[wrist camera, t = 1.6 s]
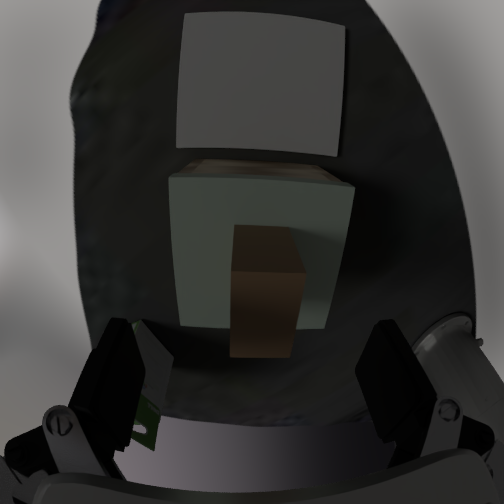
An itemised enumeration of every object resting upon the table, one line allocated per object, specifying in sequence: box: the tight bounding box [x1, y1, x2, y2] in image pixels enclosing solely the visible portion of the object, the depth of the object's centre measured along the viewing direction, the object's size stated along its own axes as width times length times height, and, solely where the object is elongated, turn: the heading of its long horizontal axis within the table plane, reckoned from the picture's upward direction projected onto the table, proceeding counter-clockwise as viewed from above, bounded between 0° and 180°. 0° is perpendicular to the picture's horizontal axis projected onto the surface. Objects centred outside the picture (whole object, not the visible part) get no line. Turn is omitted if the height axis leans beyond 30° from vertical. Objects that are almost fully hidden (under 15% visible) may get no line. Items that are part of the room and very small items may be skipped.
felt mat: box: [176, 12, 345, 157], centre depth 18 cm, size 13×12×1 cm
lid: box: [169, 173, 355, 358], centre depth 15 cm, size 10×10×7 cm
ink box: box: [131, 320, 174, 451], centre depth 24 cm, size 7×4×13 cm, turn 24°
